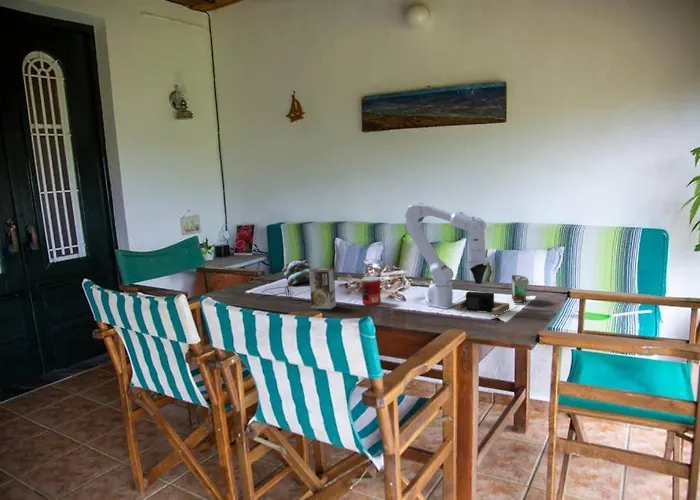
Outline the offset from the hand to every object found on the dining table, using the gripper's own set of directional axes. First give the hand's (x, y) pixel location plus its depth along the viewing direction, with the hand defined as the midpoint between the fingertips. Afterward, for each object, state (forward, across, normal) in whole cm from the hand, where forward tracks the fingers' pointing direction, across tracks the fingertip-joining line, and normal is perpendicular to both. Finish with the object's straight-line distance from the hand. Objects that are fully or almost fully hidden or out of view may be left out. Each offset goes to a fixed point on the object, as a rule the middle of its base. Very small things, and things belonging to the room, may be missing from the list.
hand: (478, 283), depth 209 cm
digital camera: (+11, -2, -2) cm, 11 cm away
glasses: (+9, -36, +88) cm, 95 cm away
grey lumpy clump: (+8, -12, +98) cm, 99 cm away
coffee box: (+9, -36, +53) cm, 65 cm away
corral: (+10, -1, -2) cm, 11 cm away
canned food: (+10, -20, +40) cm, 46 cm away
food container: (+11, +20, -8) cm, 24 cm away
